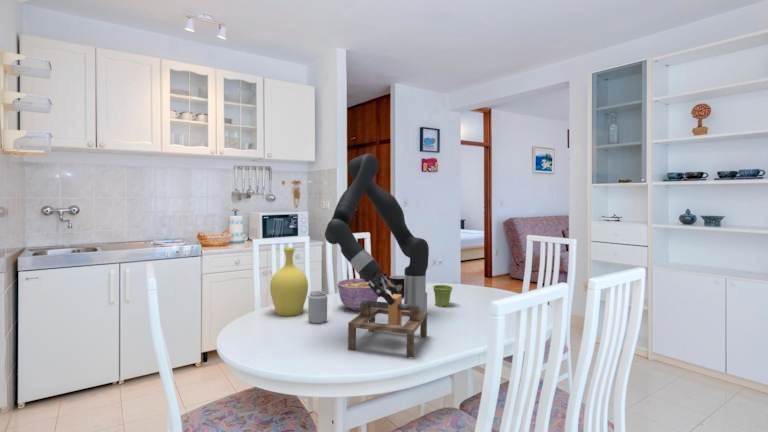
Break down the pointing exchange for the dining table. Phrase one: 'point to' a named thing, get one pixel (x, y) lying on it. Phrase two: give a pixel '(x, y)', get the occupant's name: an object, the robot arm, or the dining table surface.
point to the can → (317, 307)
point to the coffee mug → (398, 284)
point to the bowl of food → (355, 292)
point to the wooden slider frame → (368, 320)
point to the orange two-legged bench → (395, 310)
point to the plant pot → (442, 294)
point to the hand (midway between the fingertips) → (396, 300)
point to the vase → (289, 287)
